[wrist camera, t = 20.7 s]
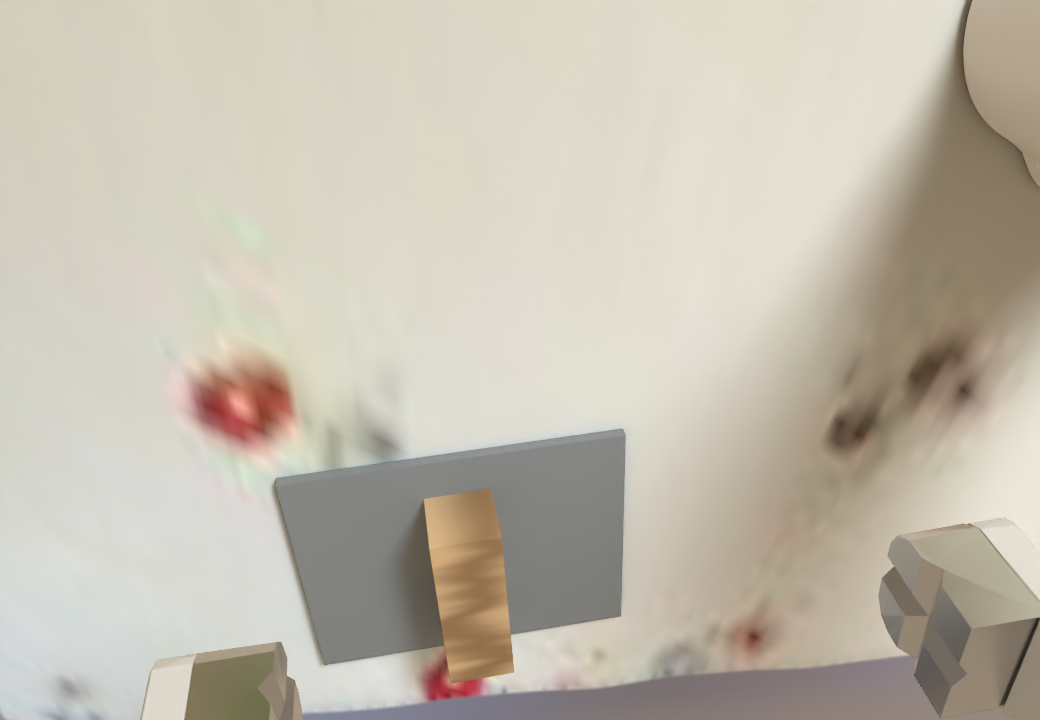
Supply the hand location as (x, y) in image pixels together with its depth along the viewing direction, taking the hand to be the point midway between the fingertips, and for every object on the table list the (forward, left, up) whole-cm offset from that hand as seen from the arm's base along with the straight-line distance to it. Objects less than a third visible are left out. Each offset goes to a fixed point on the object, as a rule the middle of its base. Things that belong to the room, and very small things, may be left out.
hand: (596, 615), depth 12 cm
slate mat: (+1, +33, -32) cm, 46 cm away
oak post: (+1, +39, -30) cm, 49 cm away
